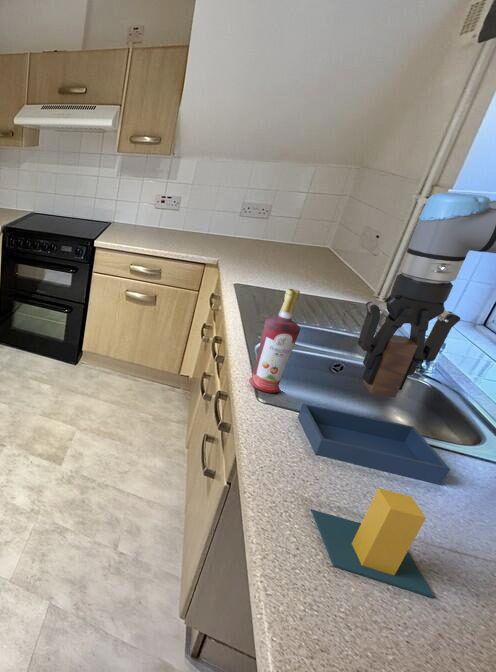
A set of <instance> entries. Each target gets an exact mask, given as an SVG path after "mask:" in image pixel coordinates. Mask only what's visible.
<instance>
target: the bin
mask: <svg viewBox="0 0 496 672" xmlns="http://www.w3.org/2000/svg"><path fill="white" fill-rule="evenodd" d="M297 419H298V422H299V423H300V426H301V428H302V430H303V432H304V434H305V436H306V438H307V440H308V442H309V445H310V446H311V448H312V451H313V452H314V455H315V456H318V457H321V458H322V457H323V458H327V459H331V460H335V461H339V462H343V463H348V464H351V465H354V466H355V465H356V466H360V467H362V468H368V469H371V470H376V471H379V472H385V473H387V474H392V475H397V476H400V477H404V478H409V479H412V480H417V481H421V482H425V483H429V484H433V485H437V486H443V484H444V482H445V481H446V479H447V477H448V475H449V473H450V471H451V468H450V467H449V465H448V464H447V463H446V462H445V461H444V460H443V459H442V458H441V457H440V455H439V454H438V453H437V452H436V451H435V449H434V448H433V447H432V446H431V445H430V443H428V441H427V440H426V439H425V438H424V437H423V435H421V433H420V432H419V431H418V430H417V428H416V427H415V426H413V425H409V424H404V423H399V422H394V421H389V420H385V419H379V418H375V417H370V416H366V415H360V414H357V413H351V412H347V411H342V410H336V409H332V408H327V407H322V406H317V405H313V404H308V403H302V404H301V408H300V410H299V413H298V415H297Z"/></svg>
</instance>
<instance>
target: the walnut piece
mask: <svg viewBox="0 0 496 672" xmlns="http://www.w3.org/2000/svg"><path fill="white" fill-rule="evenodd" d="M417 347H418V345H417V344H415V343H414V342H413V341H412V340H411V339H410V337H408V336H405V335H404V336H403V335H397V334H394V335H393V336H392V338H391V339H390V340H389V342H388V343H387V344H386V346H385V347H384V349H383V350H382V351H381V353H380V355H381V356H382V357H383V359H382V362H381V364H380V367H379V369H378V372H377V374H376V376H375V379H374V381H373V384H372V385H370V384H367V383H366V381H365V380H364V379H363V381H362V384H363V385H364V387H365V388H366V390H368V392H370V394H373V395H374V394H375V395H379V396H385V397H389V398H394V399H395V398H396V397H397V395H398V392H399V391H400V390H399V388H400V386H401V383H402V381H403V379H404V376H405V374H406V372H407V370H408V367H409V365H410V363H411V360H412V358H413V356H414V353H415V351H416V349H417Z"/></svg>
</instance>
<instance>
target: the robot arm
mask: <svg viewBox="0 0 496 672" xmlns="http://www.w3.org/2000/svg"><path fill="white" fill-rule="evenodd" d="M417 219H418V221H417V223H416V226H415V228H414V232H413V234H412V237H411V239H410V242H409V245H408V247H407V249H406V251H405V253H404V257H403V259H402V261H401V264H400V267H399V268H398V271H399V272H400V273H399V274H397V275H396V277H395V280H394V282H393V285H392V287H391V291H390V294H389V296H387V297H386V298H385V299H384V301H378V302H373V301H367V302H366V303H365V307H366V315H365V318H364V322H363V325H362V328H361V331H360V334H359V337H358V341H357V345H358V346H359V347H360V349H361V350H362V351H365V352H366V353H365V356H364V358H363V361H362V365H363V366H364V367H365V369H364V372H363V374H362V379H363V381H364V380H365V381H366V383H367V384H370V385H372V384H373V381H374V379H375V376H376V374H377V372H378V369H379V367H380V364H381V362H382V359H383V357H382V356H381V355H380V353H381V351H382V350H383V349H384V347H385V346H386V344H387V343H388V342H389V340H390V339H391V338H392V336H393V335H395V334H396V332H397V331H398V329H400V328H402V326H404V325H405V324H409V325H410V332H409V339H411V340H412V341H413V342H414V343H415V344H417V345H418V347H417V349H416V351H415V353H414V356H413V358H412V360H411V363H410V365H409V367H408V370H407V372H406V374H405V376H404V379H403V381H402V383H401V386H400V388H399V390H398V391H402V390H403V388H404V385H405V383H406V381H407V378H408V376H413V375H414V374H415V373H416V370H417V369H418V367H419V365H422V364H424V363H425V361H428V362H433V361H435V360H436V359H437V357H438V354H439V353H440V351H441V349H442V347H443V345H444V343H445V342H446V339H447V338H448V335H449V334H450V332H451V330H452V328H453V327H454V326H456V324H457V323H459V322H460V321H461V317H460V316H459V315H457V314H456V313H454V312H452V311H449V310H446V308H445V302H447V300H448V298H449V296H450V295H451V292H452V289H453V287H454V285H453V283H452V282H454V281H456V280H457V278H458V275H459V273H460V271H461V269H462V266H463V264H464V262H465V260H466V258H467V255H468V253H469V252H471V251H472V252H476V253H477V252H479V253H489V254H490V253H491V254H496V199H493V200H492V199H491V198H490V197H488V196H486V195H479V194H472V193H471V194H469V193H467V194H466V193H459V192H458V193H457V192H438V193H434V194H432V195H431V196H429V197H428V199H427V200H426V202H425V204H424V207H423V209H422V211H421V213H420V215H419V216H418V218H417ZM384 310H387V312H388V314H387V316H386V317H385V321H384V322H383V324H382V326H381V327H380V328H379V330H378V331H377V329H378V326H379V324H380V323H379V322H380V319H381V315H382V314H383V313H384ZM436 318H437V320H436V321H435V323H434V324H433V326H432V329H430V333H429V334H428V336H427V338H426V333H427V331H428V330H429V323H430V321H433V320H434V319H436Z"/></svg>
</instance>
